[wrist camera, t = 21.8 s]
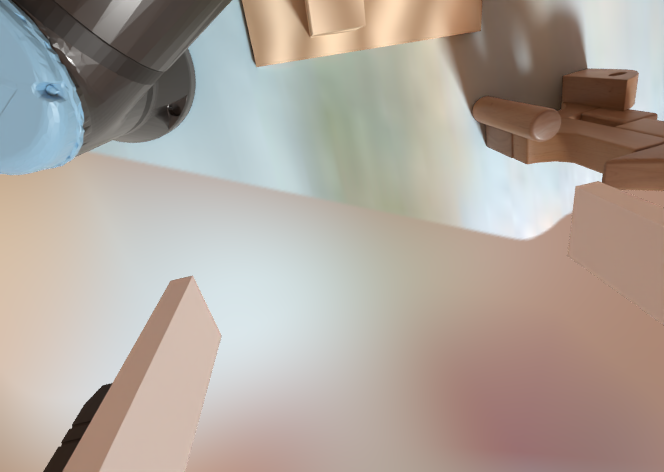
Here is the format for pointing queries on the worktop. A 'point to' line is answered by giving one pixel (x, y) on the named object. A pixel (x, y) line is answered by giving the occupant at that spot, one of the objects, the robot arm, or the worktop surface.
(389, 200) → the worktop surface
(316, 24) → the lid
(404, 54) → the worktop surface
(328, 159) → the worktop surface
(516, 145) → the wooden toy
